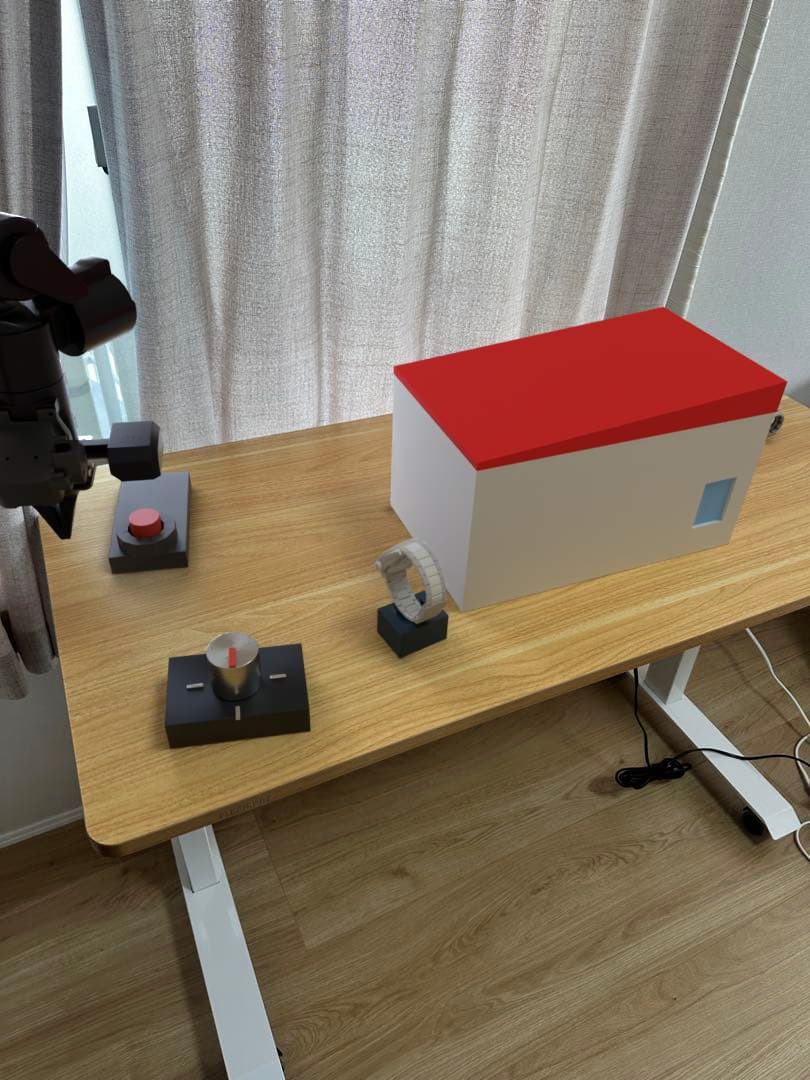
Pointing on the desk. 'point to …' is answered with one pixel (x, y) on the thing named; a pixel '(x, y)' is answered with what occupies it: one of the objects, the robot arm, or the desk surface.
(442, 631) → the watch
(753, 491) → the desk surface
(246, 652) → the lock knob
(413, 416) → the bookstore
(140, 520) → the bell button
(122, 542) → the dark grey button base
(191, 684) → the lock panel
